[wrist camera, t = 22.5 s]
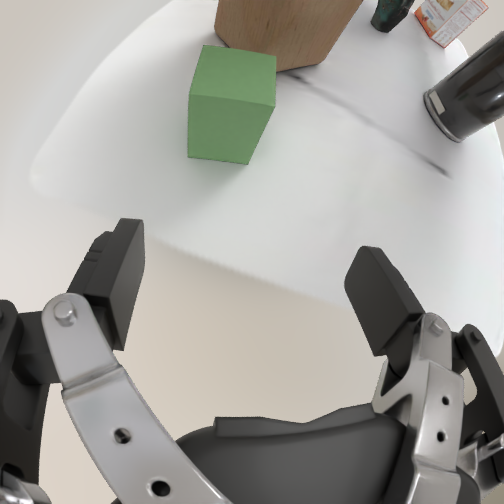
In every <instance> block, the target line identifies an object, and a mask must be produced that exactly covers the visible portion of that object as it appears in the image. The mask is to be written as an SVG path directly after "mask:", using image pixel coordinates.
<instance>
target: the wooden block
mask: <svg viewBox="0 0 504 504" xmlns="http://www.w3.org/2000/svg"><path fill="white" fill-rule="evenodd" d="M362 2H363V0H219V3H218V8H217V13H216V19H215V25H214V28H215V32H216V34H217V35H218V36H219V37H220V38H221V39H222V40H223V41H224V42H225V43H226V44H227V45H228V46H229V47H230V48H233V49H240V50H246V51H252V52H257V53H262V54H267V55H272V56H276V72H279V71H283V70H288V69H293V68H298V67H303V66H309V65H315V64H319V63H321V62H322V61H323V60H325V58H326V56H327V55H328V53H329V52H330V50H331V49H332V47H333V45H334V44H335V42H336V41H337V39H338V38H339V36H340V35H341V33H342V32H343V30H344V28H345V27H346V25H347V24H348V22H349V21H350V19H351V18H352V16H353V15H354V13H355V12H356V10H357V9H358V8H359V6H360V5H361V3H362Z"/></svg>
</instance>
